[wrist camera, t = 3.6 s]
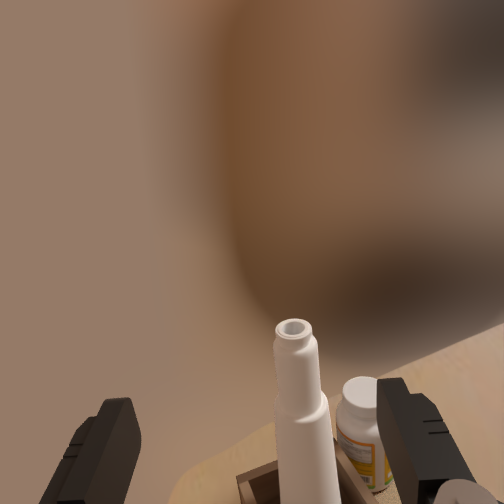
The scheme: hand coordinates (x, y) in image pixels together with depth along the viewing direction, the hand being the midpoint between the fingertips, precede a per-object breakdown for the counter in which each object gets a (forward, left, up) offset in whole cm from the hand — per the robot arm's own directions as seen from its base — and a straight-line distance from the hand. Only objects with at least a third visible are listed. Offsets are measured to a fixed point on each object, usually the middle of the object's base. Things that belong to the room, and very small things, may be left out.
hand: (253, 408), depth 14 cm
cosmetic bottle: (+10, -5, -27) cm, 29 cm away
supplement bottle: (+15, -14, -27) cm, 33 cm away
